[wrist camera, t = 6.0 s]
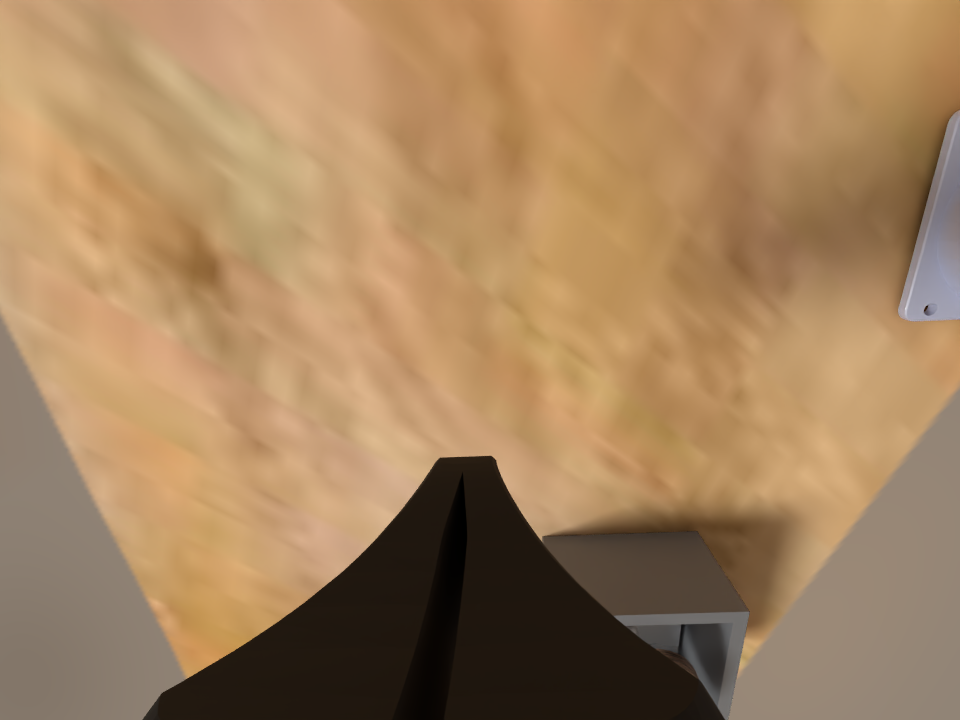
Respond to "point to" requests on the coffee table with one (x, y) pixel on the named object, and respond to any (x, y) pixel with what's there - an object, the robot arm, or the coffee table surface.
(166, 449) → the coffee table surface
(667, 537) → the open grey square tray
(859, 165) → the coffee table surface
